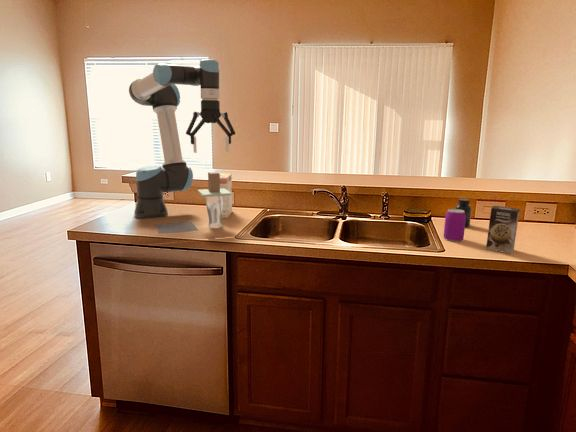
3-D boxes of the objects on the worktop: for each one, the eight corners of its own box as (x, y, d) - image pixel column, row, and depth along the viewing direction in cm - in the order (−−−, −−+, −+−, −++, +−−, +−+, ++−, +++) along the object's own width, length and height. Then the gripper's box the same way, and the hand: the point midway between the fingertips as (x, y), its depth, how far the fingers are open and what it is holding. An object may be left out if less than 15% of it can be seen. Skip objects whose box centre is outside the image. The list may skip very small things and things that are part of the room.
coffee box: (485, 249, 165) (490, 207, 161) (488, 245, 170) (493, 204, 166) (512, 254, 160) (518, 211, 156) (514, 249, 165) (520, 208, 161)
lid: (197, 192, 191) (196, 171, 188) (224, 190, 195) (224, 170, 193) (202, 197, 180) (202, 175, 178) (231, 195, 184) (231, 174, 182)
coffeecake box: (218, 211, 222) (217, 172, 218) (232, 211, 222) (232, 173, 218) (212, 218, 208) (211, 177, 203) (227, 218, 208) (226, 177, 203)
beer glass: (219, 230, 187) (219, 195, 183) (204, 229, 188) (203, 194, 185) (225, 226, 194) (224, 192, 190) (210, 225, 195) (209, 191, 191)
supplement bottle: (470, 224, 202) (473, 199, 199) (469, 227, 196) (472, 201, 193) (454, 222, 205) (456, 197, 202) (453, 226, 199) (455, 200, 196)
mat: (155, 225, 193) (155, 224, 193) (191, 222, 199) (191, 221, 199) (159, 234, 179) (158, 233, 179) (198, 231, 184) (198, 230, 184)
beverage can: (445, 241, 175) (448, 212, 172) (441, 236, 182) (444, 208, 179) (465, 242, 174) (468, 213, 171) (460, 237, 181) (463, 208, 178)
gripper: (180, 98, 171) (182, 153, 176) (242, 100, 180) (242, 152, 185) (177, 99, 178) (179, 151, 183) (237, 100, 187) (237, 150, 192)
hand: (211, 152), depth 184 cm, fingers open, 13 cm apart
